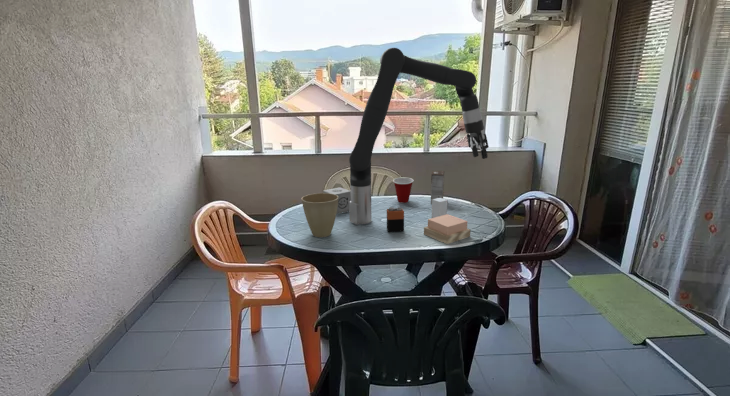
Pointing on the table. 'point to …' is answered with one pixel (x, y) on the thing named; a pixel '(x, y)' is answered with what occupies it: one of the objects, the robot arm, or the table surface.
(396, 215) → the battery
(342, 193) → the icon cube
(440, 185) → the coffee box
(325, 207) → the plant pot
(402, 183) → the plastic cup
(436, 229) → the terracotta slab
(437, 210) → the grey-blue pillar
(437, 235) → the birch slab
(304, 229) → the table surface
